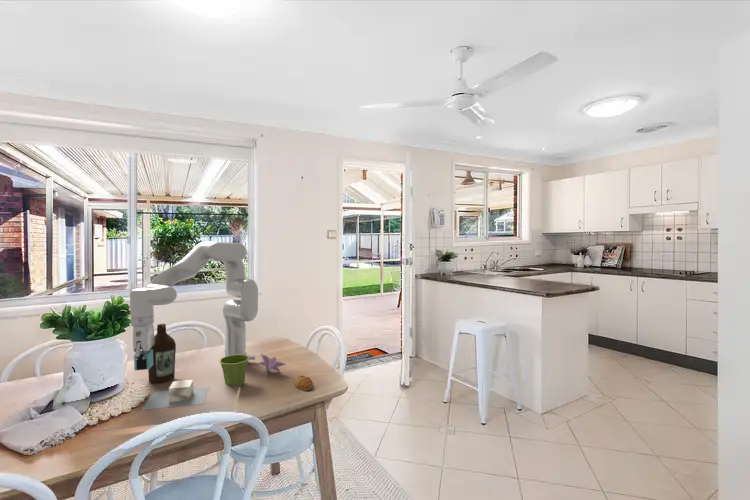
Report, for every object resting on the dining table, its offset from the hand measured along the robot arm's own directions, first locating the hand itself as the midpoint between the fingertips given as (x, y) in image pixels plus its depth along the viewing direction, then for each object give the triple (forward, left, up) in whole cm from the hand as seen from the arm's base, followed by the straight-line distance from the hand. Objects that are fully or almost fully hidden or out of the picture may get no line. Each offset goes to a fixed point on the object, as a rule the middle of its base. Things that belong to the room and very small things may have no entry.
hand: (144, 366), depth 143 cm
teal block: (0, 0, -1) cm, 1 cm away
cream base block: (-15, +7, -11) cm, 19 cm away
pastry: (-61, +4, -13) cm, 62 cm away
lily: (-47, -12, -12) cm, 51 cm away
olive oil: (-3, -14, -12) cm, 18 cm away
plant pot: (-33, -4, -12) cm, 35 cm away
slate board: (-14, +7, -12) cm, 20 cm away
